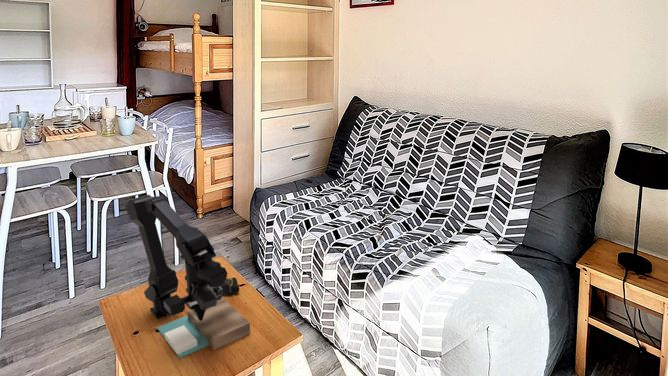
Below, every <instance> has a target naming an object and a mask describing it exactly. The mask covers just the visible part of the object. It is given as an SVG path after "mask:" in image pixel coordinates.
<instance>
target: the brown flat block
mask: <svg viewBox="0 0 668 376" xmlns="http://www.w3.org/2000/svg"><path fill="white" fill-rule="evenodd" d="M221 298H222V299H221V300H218V301H217V304H216V306H212V307H210V308H208V309H206V311H205V314H204V317H203V320H201V321H199V320H198V318H197V316H196V314H195V313H194V311H193V310H191V309H189V308H188V309H187V310H186V313H187V315H188V320H189V321H190V322H191V323H192V324H193V325H194V327H195V328H196V329H197V330H198V331H199V332H200V333H201V334H202V335H203V337H204V338H205V339H206V340H207V341H208V342H209V343H210V345H209V346H210V347H211V348H212V349H213V350H214V351H216V350H218V349H220V348H222V347H225V346H227V345H229V344H231V343H233V342H235V341H237V340H240V339H242V338H244V337H245V336H249V335H250V334H251V322H250V321H249V320H248V319H247V318H245V317H244V315H242V314H241V313H240V312H239V311H238V310H237V309H236V308H235V307H234V306H232V305H231V303H229V302H228V301H227V299H225V298H224V297H221ZM187 315H186V316H187Z"/></svg>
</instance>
